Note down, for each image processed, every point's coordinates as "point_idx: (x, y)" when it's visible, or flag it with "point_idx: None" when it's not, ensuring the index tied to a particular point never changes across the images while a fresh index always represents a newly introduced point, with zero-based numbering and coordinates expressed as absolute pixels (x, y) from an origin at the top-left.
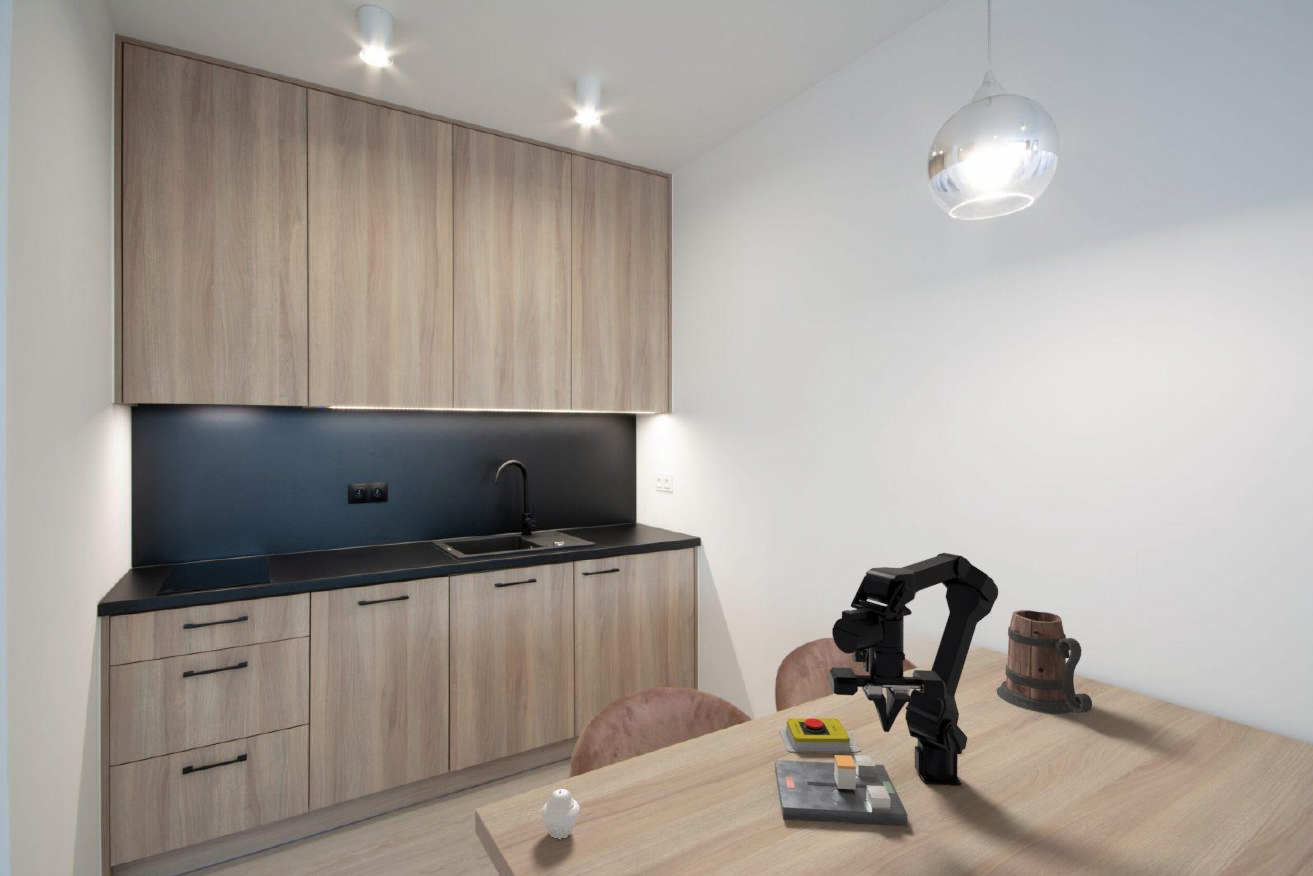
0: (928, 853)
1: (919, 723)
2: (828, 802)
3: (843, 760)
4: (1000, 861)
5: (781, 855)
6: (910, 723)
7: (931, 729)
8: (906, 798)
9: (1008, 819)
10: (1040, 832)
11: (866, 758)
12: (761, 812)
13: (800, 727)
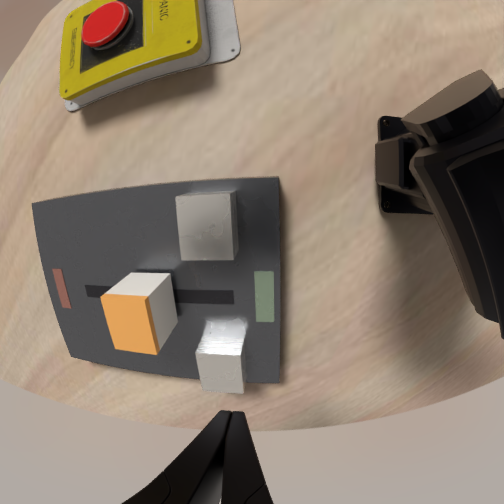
0: (292, 414)
1: (459, 246)
2: (128, 352)
3: (124, 325)
4: (388, 411)
5: (100, 403)
6: (425, 192)
7: (476, 296)
8: (311, 277)
9: (466, 318)
10: (482, 340)
11: (212, 213)
12: (55, 328)
13: (80, 40)
